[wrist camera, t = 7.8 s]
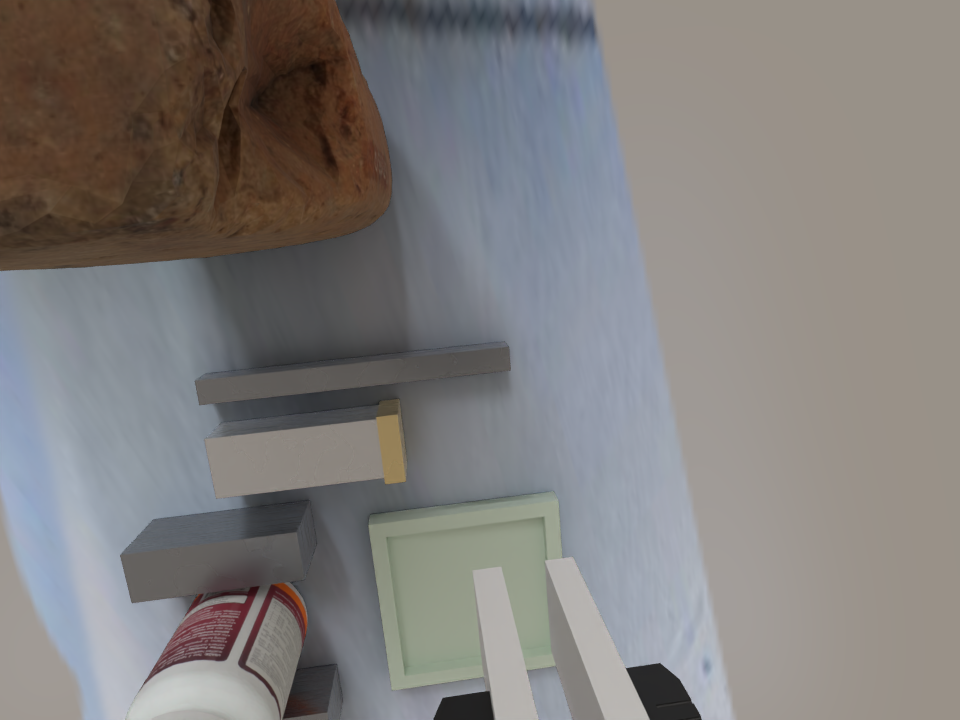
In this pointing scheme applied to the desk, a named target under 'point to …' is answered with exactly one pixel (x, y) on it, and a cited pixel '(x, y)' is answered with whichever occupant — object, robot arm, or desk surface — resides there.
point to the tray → (461, 582)
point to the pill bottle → (228, 658)
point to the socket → (235, 574)
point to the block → (181, 130)
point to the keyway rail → (352, 372)
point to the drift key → (308, 450)
